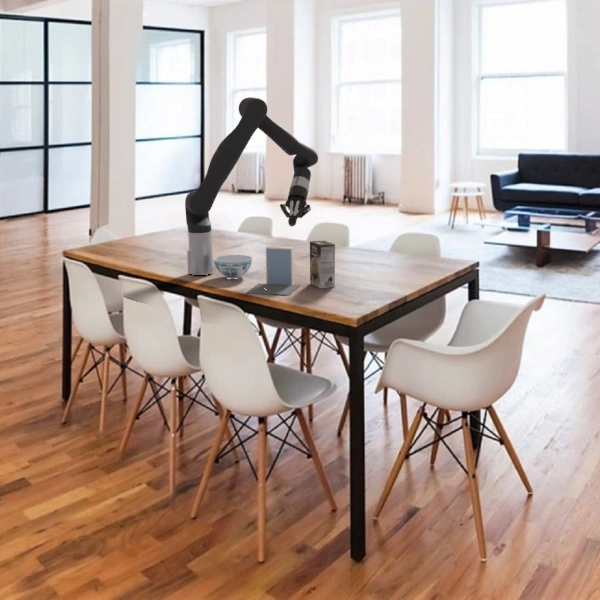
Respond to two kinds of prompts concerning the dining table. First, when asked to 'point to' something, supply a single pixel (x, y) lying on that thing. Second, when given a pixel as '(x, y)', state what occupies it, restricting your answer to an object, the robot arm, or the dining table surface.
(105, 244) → the dining table surface
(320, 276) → the coffee box
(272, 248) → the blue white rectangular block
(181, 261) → the dining table surface
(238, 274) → the chinaware
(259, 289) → the rubber mat
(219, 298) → the dining table surface
